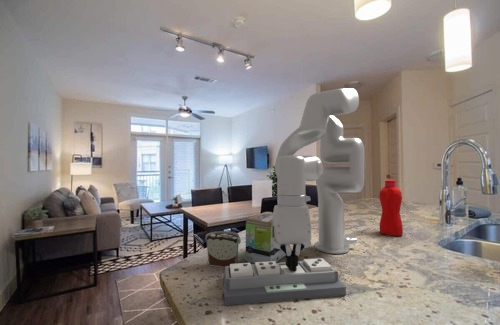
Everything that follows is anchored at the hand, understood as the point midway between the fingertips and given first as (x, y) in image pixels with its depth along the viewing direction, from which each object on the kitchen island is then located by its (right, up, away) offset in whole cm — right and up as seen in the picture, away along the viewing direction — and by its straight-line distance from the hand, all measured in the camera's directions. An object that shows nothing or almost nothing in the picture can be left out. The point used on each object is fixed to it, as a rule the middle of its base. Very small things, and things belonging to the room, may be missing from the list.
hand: (291, 268), depth 65 cm
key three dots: (+7, -1, +1) cm, 7 cm away
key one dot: (0, -2, 0) cm, 2 cm away
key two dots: (-14, -1, -2) cm, 14 cm away
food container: (-19, -5, +15) cm, 25 cm away
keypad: (-3, -4, 0) cm, 6 cm away
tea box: (-5, -5, +20) cm, 21 cm away
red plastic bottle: (+55, -5, +48) cm, 73 cm away
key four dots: (-7, -1, -1) cm, 7 cm away
